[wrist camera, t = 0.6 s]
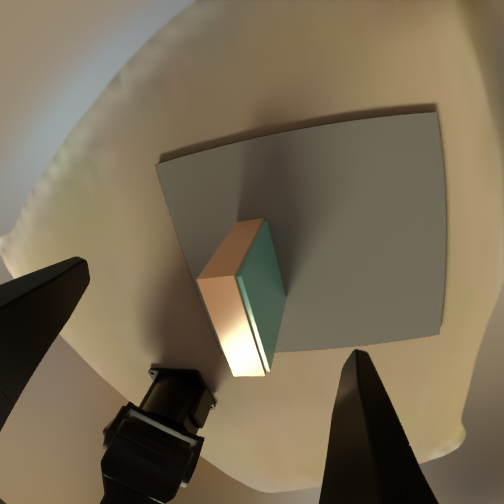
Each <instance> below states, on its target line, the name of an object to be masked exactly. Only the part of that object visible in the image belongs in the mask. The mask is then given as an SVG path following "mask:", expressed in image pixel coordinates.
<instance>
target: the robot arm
mask: <svg viewBox="0 0 504 504" xmlns="http://www.w3.org/2000/svg"><path fill="white" fill-rule="evenodd" d="M89 282H90V275H89V269H88V263H87V261H86V260H85V259H83V258H80V257H77V256H76V257H73V258H70V259H67V260H64V261H62V262H59V263H56V264H53V265H51V266H48V267H45V268H43V269H40V270H37V271H35V272H32V273H29V274H27V275H24V276H22V277H19V278H16V279H14V280H11V281H9V282H6V283H4V284H1V285H0V431H1V429H2V427H3V426H4V424H5V421H6V420H7V418H8V416H9V414H10V413H11V411H12V409H13V407H14V405H15V403H16V402H17V400H18V398H19V396H20V394H21V393H22V391H23V389H24V388H25V386H26V384H27V383H28V381H29V379H30V377H31V376H32V375H33V373H34V371H35V370H36V368H37V366H38V365H39V363H40V362H41V360H42V358H43V357H44V355H45V354H46V352H47V351H48V349H49V347H50V346H51V344H52V343H53V342H54V340H55V339H56V337H57V336H58V334H59V333H60V331H61V330H62V328H63V327H64V325H65V324H66V322H67V321H68V319H69V318H70V316H71V314H72V313H73V311H74V309H75V307H76V306H77V304H78V302H79V300H80V299H81V297H82V295H83V293H84V292H85V290H86V288H87V287H88V285H89ZM148 372H149V374H150V376H151V378H152V379H153V383H152V385H151V387H150V388H149V390H148V392H147V394H146V395H145V397H144V399H143V400H142V402H141V404H140V406H139V407H137V406H135V405H134V404H133V403H132V402H130V401H129V403H128V404H127V406H122V407H121V409H120V411H119V412H118V414H117V415H116V417H115V418H114V419H113V420H112V421H111V422H110V423H109V424H108V425H107V426H106V427H105V429H104V430H103V434H104V437H105V438H104V443H103V449H105V450H106V452H105V454H104V456H103V458H102V460H101V470H102V478H103V485H104V492H105V493H104V496H103V499H102V500H101V502H100V504H165V503H167V502H169V501H170V500H172V499H173V498H174V497H175V495H176V493H177V491H178V489H179V487H180V486H181V487H183V488H185V487H186V486H187V484H188V483H189V481H190V479H191V477H192V474H193V472H194V470H195V468H196V465H197V461H198V458H199V455H200V452H201V449H202V445H203V442H204V439H205V438H204V437H201V436H200V437H199V436H197V435H196V434H197V432H198V429H199V428H202V427H203V426H204V424H205V421H206V419H207V416H208V414H209V411H210V410H213V409H215V406H216V405H215V403H214V401H213V399H212V397H211V395H210V393H209V391H208V389H207V388H206V386H205V384H204V382H203V380H202V378H201V376H200V374H199V372H197V371H195V370H178V369H160V368H150V369H149V371H148ZM0 504H6V503H5V502H4V501H3V500H2V499H0ZM319 504H439V503H438V501H437V499H436V498H435V495H434V494H433V492H432V490H431V488H430V486H429V484H428V483H427V480H426V478H425V476H424V474H423V473H422V471H421V469H420V466H419V464H418V462H417V460H416V457H415V455H414V453H413V450H412V448H411V446H409V441H408V439H407V437H406V434H405V432H404V430H403V427H402V425H401V423H400V421H399V418H398V416H397V414H396V412H395V409H394V407H393V405H392V403H391V401H390V398H389V396H388V394H387V392H386V390H385V388H384V385H383V383H382V381H381V379H380V377H379V375H378V373H377V371H376V368H375V366H374V364H373V362H372V360H371V358H370V356H369V354H368V353H367V352H366V351H362V350H358V349H355V350H354V351H353V352H352V353H351V355H350V356H349V358H348V359H347V361H346V362H345V364H344V366H343V368H342V372H341V377H340V382H339V386H338V391H337V395H336V400H335V404H334V408H333V413H332V419H331V427H330V435H329V443H328V450H327V457H326V464H325V470H324V476H323V483H322V488H321V494H320V500H319Z"/></svg>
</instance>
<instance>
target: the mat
mask: <svg viewBox="0 0 504 504" xmlns="http://www.w3.org/2000/svg"><path fill="white" fill-rule="evenodd" d="M155 168H156V171H157V175H158V178H159V181H160V184H161V187H162V191H163V194H164V197H165V200H166V203H167V206H168V209H169V212H170V215H171V218H172V221H173V224H174V227H175V230H176V233H177V236H178V239H179V242H180V245H181V248H182V251H183V253H184V256H185V259H186V262H187V265H188V268H189V270H190V273H191V276H192V279H193V281H194V284H195V287H196V289H197V292H198V295H199V297H200V300H201V303H202V305H203V308H204V311H205V313H206V316H207V318H208V321H209V324H210V326H211V329H212V331H213V334H214V336H215V339H216V341H217V344H218V346H219V349H220V351H221V354H225V353H224V351H223V348H222V346H221V343H220V340H219V338H218V335H217V333H216V330H215V328H214V325H213V322H212V320H211V317H210V315H209V312H208V309H207V307H206V304H205V301H204V299H203V296H202V293H201V291H200V288H199V285H198V282H197V280H196V279H197V278H198V277H199V275H200V274H201V272H202V271H203V269H204V268H205V266H206V265H207V264H208V262H209V261H210V259H211V258H212V256H213V255H214V253H215V252H216V251H217V249H218V248H219V246H220V245H221V243H222V242H223V241H224V239H225V238H226V236H227V235H228V234H229V232H230V231H231V229H232V228H233V226H234V225H235V224H236V222H241V221H247V220H253V219H259V218H264V221H268V224H269V228H270V232H271V236H272V241H273V245H274V249H275V253H276V258H277V262H278V266H279V270H280V275H281V279H282V283H283V288H284V292H285V296H286V304H285V308H284V313H283V317H282V322H281V326H280V331H279V335H278V339H277V344H276V348H275V352H274V353H276V352H294V351H309V350H322V349H333V348H344V347H354V346H363V345H371V344H380V343H387V342H395V341H402V340H408V339H415V338H421V337H427V336H433V335H439V333H440V325H441V317H442V307H443V297H444V284H445V266H446V198H445V180H444V167H443V156H442V147H441V139H440V131H439V124H438V117H437V112H425V113H413V114H402V115H392V116H383V117H374V118H366V119H358V120H351V121H344V122H338V123H331V124H325V125H319V126H313V127H307V128H302V129H297V130H291V131H286V132H281V133H276V134H271V135H267V136H262V137H257V138H253V139H248V140H244V141H240V142H236V143H231V144H227V145H223V146H219V147H215V148H211V149H208V150H204V151H200V152H196V153H193V154H189V155H186V156H182V157H179V158H175V159H172V160H168V161H165V162H162V163H158V164H156V165H155Z"/></svg>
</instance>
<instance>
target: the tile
mask: <svg viewBox="0 0 504 504" xmlns="http://www.w3.org/2000/svg"><path fill="white" fill-rule="evenodd" d="M196 280H197V282H198V285H199V288H200V291H201V293H202V296H203V299H204V301H205V304H206V307H207V309H208V312H209V315H210V317H211V320H212V322H213V325H214V328H215V330H216V333H217V335H218V338H219V340H220V343H221V346H222V348H223V351H224V353H225V356H226V358H227V360H228V363H229V365H230V368H231V370H232V373H233V375H234V376H265V375H266V371H270V369H271V365H272V361H273V357H274V352H275V348H276V344H277V339H278V335H279V331H280V326H281V322H282V317H283V313H284V308H285V304H286V296H285V292H284V288H283V283H282V279H281V275H280V270H279V266H278V262H277V258H276V253H275V249H274V245H273V241H272V236H271V232H270V228H269V224H268V221H264V218H259V219H253V220H247V221H241V222H236V224H235V225H234V226H233V228H232V229H231V231H230V232H229V234H228V235H227V236H226V238H225V239H224V241H223V242H222V243H221V245H220V246H219V248H218V249H217V251H216V252H215V253H214V255H213V256H212V258H211V259H210V261H209V262H208V264H207V265H206V266H205V268H204V269H203V271H202V272H201V274H200V275H199V277H198V278H197V279H196Z"/></svg>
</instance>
